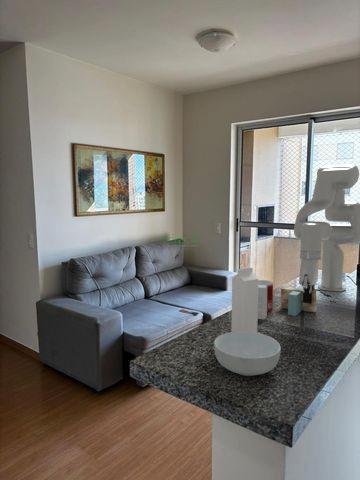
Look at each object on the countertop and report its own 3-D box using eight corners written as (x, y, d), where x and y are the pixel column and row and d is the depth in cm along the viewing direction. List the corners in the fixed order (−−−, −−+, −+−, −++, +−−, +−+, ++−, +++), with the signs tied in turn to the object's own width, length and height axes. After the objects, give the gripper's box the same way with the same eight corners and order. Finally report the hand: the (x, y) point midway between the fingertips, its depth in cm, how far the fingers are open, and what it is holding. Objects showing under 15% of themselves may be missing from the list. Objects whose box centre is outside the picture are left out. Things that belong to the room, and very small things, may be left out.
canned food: (270, 306, 146) (271, 280, 144) (273, 312, 138) (274, 285, 136) (251, 306, 146) (252, 280, 145) (253, 312, 138) (254, 284, 137)
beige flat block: (281, 308, 143) (280, 288, 143) (283, 306, 146) (283, 287, 145) (314, 312, 136) (314, 291, 135) (316, 310, 138) (316, 290, 138)
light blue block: (299, 304, 148) (300, 285, 147) (307, 305, 147) (307, 286, 146) (287, 314, 135) (288, 294, 134) (295, 316, 134) (296, 295, 133)
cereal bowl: (202, 373, 90) (202, 346, 90) (230, 349, 104) (230, 326, 103) (266, 392, 81) (267, 363, 80) (288, 364, 95) (289, 339, 94)
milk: (257, 336, 114) (259, 269, 112) (242, 340, 111) (244, 271, 109) (245, 330, 120) (246, 266, 117) (230, 333, 117) (232, 267, 114)
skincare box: (267, 316, 133) (267, 285, 132) (264, 320, 129) (265, 288, 128) (251, 314, 136) (251, 283, 134) (248, 317, 132) (248, 286, 131)
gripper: (306, 251, 145) (304, 295, 147) (294, 257, 131) (292, 305, 134) (325, 253, 141) (323, 298, 143) (315, 259, 127) (313, 308, 129)
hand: (308, 301), depth 138 cm, fingers open, 3 cm apart
